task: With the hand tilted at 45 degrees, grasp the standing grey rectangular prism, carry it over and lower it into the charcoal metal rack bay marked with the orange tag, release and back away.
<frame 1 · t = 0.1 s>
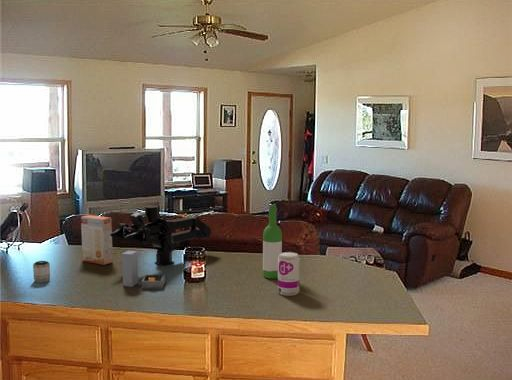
hand: (117, 236, 237), 17 cm above the table, tool horizontal, fingers open, 9 cm apart
supplement can: (288, 293, 217), on the table
grey rectangular prism: (130, 284, 227), on the table
cracker box: (97, 262, 261), on the table
camera lens: (42, 281, 231), on the table
rack bay: (153, 285, 225), on the table
wine bottle: (272, 277, 238), on the table
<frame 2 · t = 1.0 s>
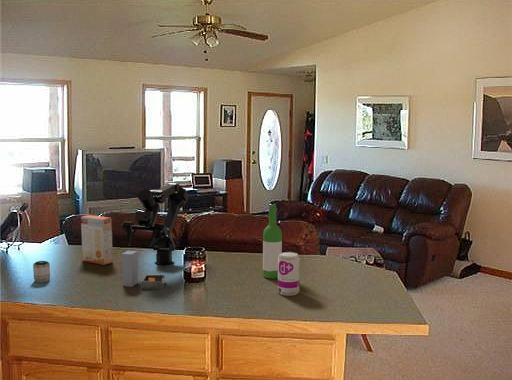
hand: (138, 246, 233), 14 cm above the table, tool tilted 45°, fingers open, 9 cm apart
nothing on the table moved.
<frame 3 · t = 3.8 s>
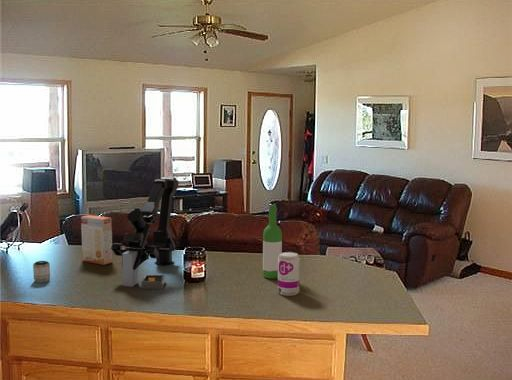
hand: (128, 269, 224), 7 cm above the table, tool tilted 45°, fingers closed on grey rectangular prism, 4 cm apart
grey rectangular prism: (130, 284, 227), on the table, touching gripper
everything else where it was.
when the fingers open (8 cm above the table, at t = 7.2 s): grey rectangular prism drops 2 cm, resting in rack bay.
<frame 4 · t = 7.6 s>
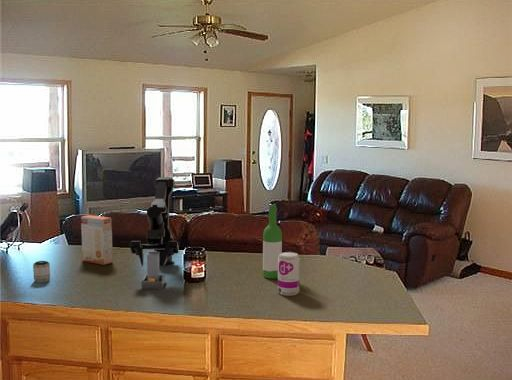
hand: (152, 265, 223), 8 cm above the table, tool tilted 45°, fingers open, 8 cm apart
grey rectangular prism: (153, 285, 225), resting in rack bay
everything else where it was.
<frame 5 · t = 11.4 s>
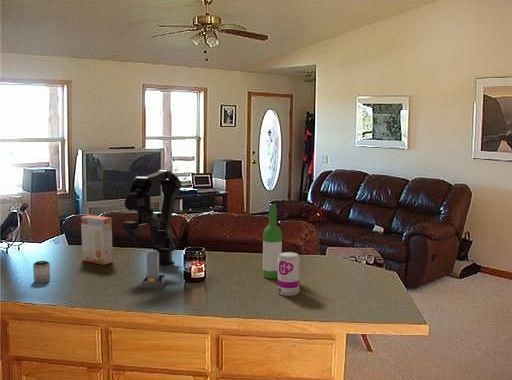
hand: (144, 243, 241), 13 cm above the table, tool pointing down, fingers open, 9 cm apart
nothing on the table moved.
at the end: grey rectangular prism 0.1 cm off-centre on the rack bay, point 0.0 cm above the rack bay's base; grey rectangular prism tilted 0°; the gripper is holding nothing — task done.
